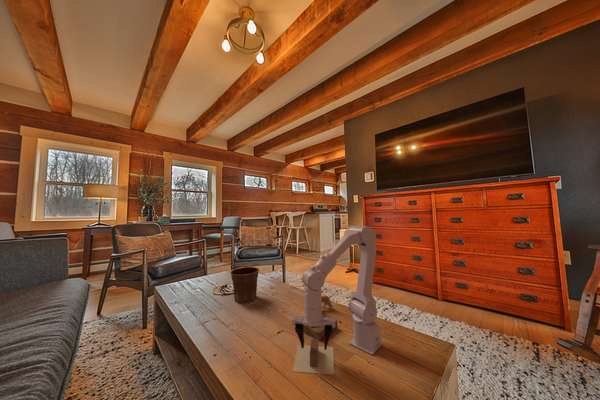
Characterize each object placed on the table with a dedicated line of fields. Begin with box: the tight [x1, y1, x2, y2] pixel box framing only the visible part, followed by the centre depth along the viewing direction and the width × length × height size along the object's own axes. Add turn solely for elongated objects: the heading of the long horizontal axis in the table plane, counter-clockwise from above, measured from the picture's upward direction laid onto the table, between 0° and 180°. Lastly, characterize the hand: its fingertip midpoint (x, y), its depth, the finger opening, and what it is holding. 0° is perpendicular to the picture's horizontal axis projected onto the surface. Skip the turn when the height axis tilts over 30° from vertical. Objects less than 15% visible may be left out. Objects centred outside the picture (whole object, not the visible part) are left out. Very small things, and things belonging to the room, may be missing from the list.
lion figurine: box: [321, 294, 333, 311], centre depth 108 cm, size 15×5×9 cm, turn 111°
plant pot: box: [230, 266, 260, 304], centre depth 123 cm, size 16×16×16 cm
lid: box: [292, 338, 336, 376], centre depth 72 cm, size 13×13×5 cm
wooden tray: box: [304, 314, 339, 342], centre depth 90 cm, size 12×12×3 cm
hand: (314, 347), depth 72 cm, fingers open, 7 cm apart
